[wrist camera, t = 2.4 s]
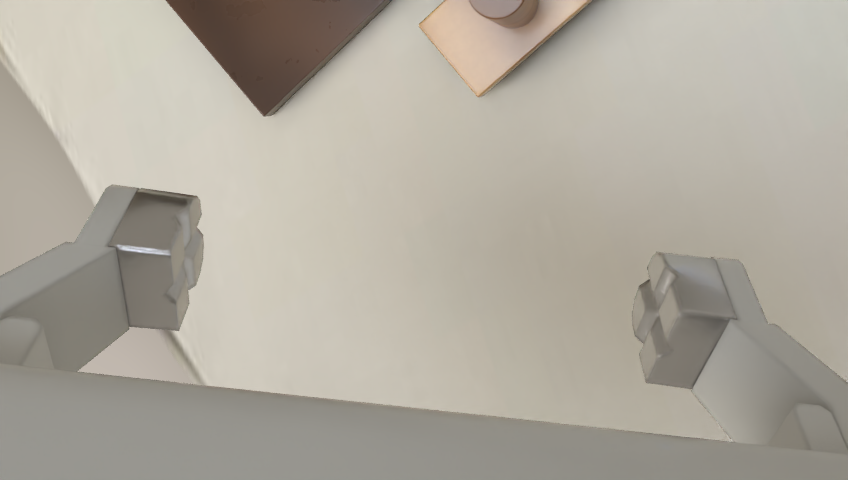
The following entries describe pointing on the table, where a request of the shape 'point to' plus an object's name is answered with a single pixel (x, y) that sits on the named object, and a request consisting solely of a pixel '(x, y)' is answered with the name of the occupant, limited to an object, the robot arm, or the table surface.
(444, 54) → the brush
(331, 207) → the table surface
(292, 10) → the board
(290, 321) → the table surface
